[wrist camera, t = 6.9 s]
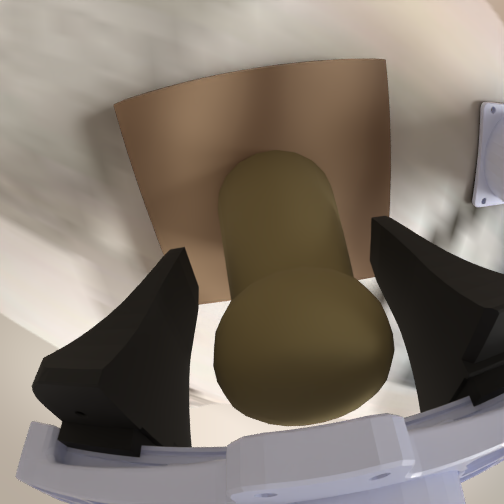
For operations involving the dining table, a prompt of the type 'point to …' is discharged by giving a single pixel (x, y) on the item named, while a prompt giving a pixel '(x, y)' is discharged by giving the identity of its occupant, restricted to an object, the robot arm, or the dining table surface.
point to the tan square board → (259, 150)
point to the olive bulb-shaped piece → (293, 299)
